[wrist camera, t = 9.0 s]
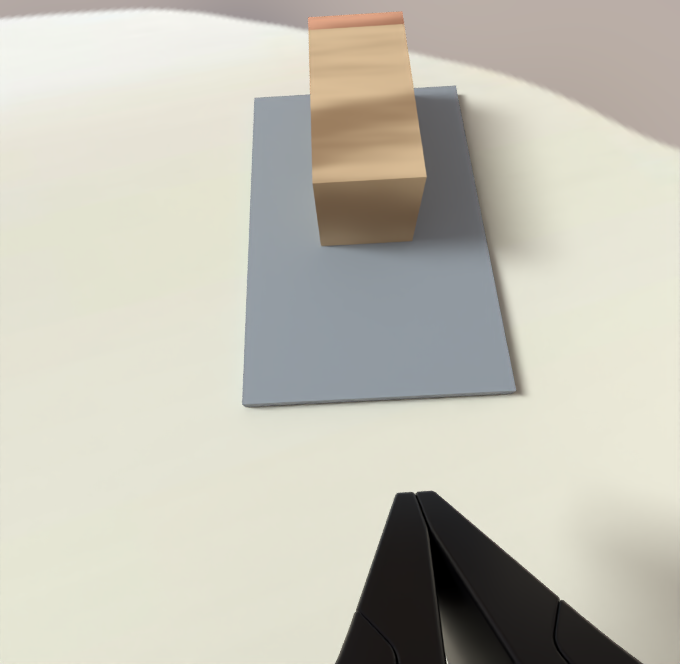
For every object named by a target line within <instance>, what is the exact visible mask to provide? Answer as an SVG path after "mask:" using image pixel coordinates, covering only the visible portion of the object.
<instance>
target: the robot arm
mask: <svg viewBox="0 0 680 664" xmlns="http://www.w3.org/2000/svg"><path fill="white" fill-rule="evenodd" d="M559 601H560V602H559ZM445 654H446V655H445ZM446 657H447V661H448V664H643V663H641V662H640V661H639V660H637V659H636V658H635V657H633V656H632V655H631V654H629V653H628V652H627V651H625V650H624V649H623V648H621V647H620V646H619V645H617V644H616V643H615V642H613V641H612V640H611V639H610V638H609V637H607V636H606V635H605V634H604V633H602V632H601V631H600V630H599V629H597V628H596V627H595V626H594V625H593V624H591V623H590V622H589V621H588V620H586V619H585V618H584V617H583V616H581V615H580V614H579V613H578V612H577V611H576V610H574V609H573V608H572V607H571V606H570V605H568V604H567V603H566V602H565V601H564V600H560V599H559V597H558V596H557V595H556V594H555V593H553V592H552V591H551V590H550V589H549V588H547V587H546V586H545V585H544V584H543V583H542V582H540V581H539V580H538V579H537V578H536V577H535V576H533V575H532V574H531V573H530V572H529V571H527V570H526V569H525V568H524V567H523V566H522V565H520V564H519V563H518V562H517V561H516V560H515V559H513V558H512V557H511V556H510V555H509V554H507V553H506V552H505V551H504V550H503V549H502V548H500V547H499V546H498V545H497V544H496V543H495V542H493V541H492V540H491V539H490V538H489V537H487V536H486V535H485V534H484V533H483V532H482V531H480V530H479V529H478V528H477V527H476V526H475V525H473V524H472V523H471V522H470V521H469V520H467V519H466V518H465V517H464V516H463V515H462V514H460V513H459V512H458V511H457V510H456V509H455V508H453V507H452V506H451V505H450V504H449V503H447V502H446V501H445V500H444V499H443V498H442V497H440V496H439V495H438V494H437V493H436V492H434V491H421V492H417V493H416V494H414V493H413V492H405V493H397V494H396V495H395V498H394V501H393V504H392V506H391V509H390V512H389V515H388V518H387V521H386V524H385V527H384V530H383V533H382V536H381V539H380V541H379V544H378V547H377V550H376V553H375V556H374V559H373V562H372V565H371V568H370V571H369V574H368V576H367V579H366V582H365V585H364V588H363V591H362V594H361V597H360V600H359V603H358V606H357V609H356V612H355V613H354V616H353V619H352V622H351V625H350V627H349V630H348V633H347V636H346V638H345V641H344V643H343V646H342V648H341V651H340V654H339V656H338V659H337V661H336V663H335V664H447V663H446Z"/></svg>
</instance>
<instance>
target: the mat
mask: <svg viewBox="0 0 680 664" xmlns="http://www.w3.org/2000/svg"><path fill="white" fill-rule="evenodd" d="M414 94H415V101H416V108H417V115H418V121H419V128H420V135H421V142H422V148H423V155H424V162H425V169H426V176H427V178H426V182H425V187H424V191H423V196H422V200H421V204H420V209H419V213H418V218H417V222H416V227H415V231H414V235H413V240H412V241H406V242H388V243H370V244H352V245H334V246H321V243H320V236H319V228H318V221H317V213H316V206H315V199H314V191H313V184H312V146H311V107H310V95H295V96H278V97H262V98H255V100H254V124H253V149H252V174H251V199H250V224H249V249H248V274H247V299H246V324H245V349H244V374H243V399H242V405H244V406H245V407H253V406H273V405H293V404H313V403H333V402H353V401H373V400H392V399H412V398H432V397H452V396H472V395H492V394H512V393H513V392H515V391H516V387H515V382H514V377H513V372H512V367H511V362H510V357H509V352H508V347H507V342H506V337H505V332H504V327H503V322H502V317H501V312H500V307H499V302H498V296H497V291H496V286H495V281H494V276H493V271H492V266H491V261H490V256H489V251H488V246H487V241H486V236H485V231H484V226H483V221H482V216H481V211H480V206H479V201H478V196H477V191H476V186H475V181H474V176H473V171H472V166H471V161H470V155H469V150H468V145H467V140H466V135H465V130H464V125H463V120H462V115H461V110H460V105H459V100H458V95H457V90H456V86H443V87H426V88H414Z"/></svg>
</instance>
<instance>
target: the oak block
mask: <svg viewBox="0 0 680 664" xmlns="http://www.w3.org/2000/svg"><path fill="white" fill-rule="evenodd" d="M308 22H309V23H308V26H309V67H310V107H311V146H312V184H313V191H314V199H315V206H316V213H317V221H318V228H319V236H320V243H321V246H334V245H352V244H370V243H388V242H406V241H412V240H413V235H414V231H415V227H416V222H417V218H418V213H419V209H420V204H421V200H422V196H423V191H424V187H425V182H426V178H427V176H426V169H425V162H424V155H423V148H422V142H421V135H420V128H419V121H418V115H417V108H416V101H415V94H414V88H413V81H412V74H411V67H410V61H409V54H408V47H407V40H406V34H405V27H404V21H403V13H402V12H386V13H371V14H355V15H339V16H324V17H308Z"/></svg>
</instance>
